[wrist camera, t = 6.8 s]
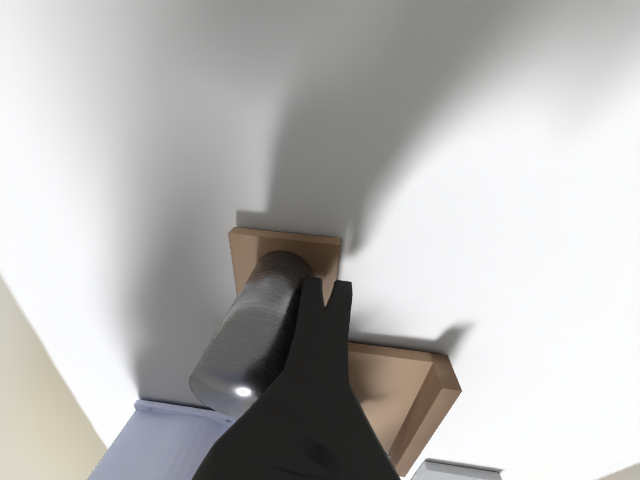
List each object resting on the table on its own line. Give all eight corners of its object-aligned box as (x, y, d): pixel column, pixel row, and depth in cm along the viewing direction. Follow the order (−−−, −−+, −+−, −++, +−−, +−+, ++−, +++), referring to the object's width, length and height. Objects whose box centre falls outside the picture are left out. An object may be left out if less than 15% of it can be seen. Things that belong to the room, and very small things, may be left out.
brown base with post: (248, 421, 20) (214, 529, 15) (213, 225, 11) (90, 330, 6) (399, 444, 20) (418, 566, 14) (501, 255, 10) (663, 407, 5)
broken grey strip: (316, 469, 24) (315, 477, 24) (320, 444, 22) (319, 453, 21) (472, 494, 24) (475, 503, 23) (498, 472, 21) (502, 481, 20)
